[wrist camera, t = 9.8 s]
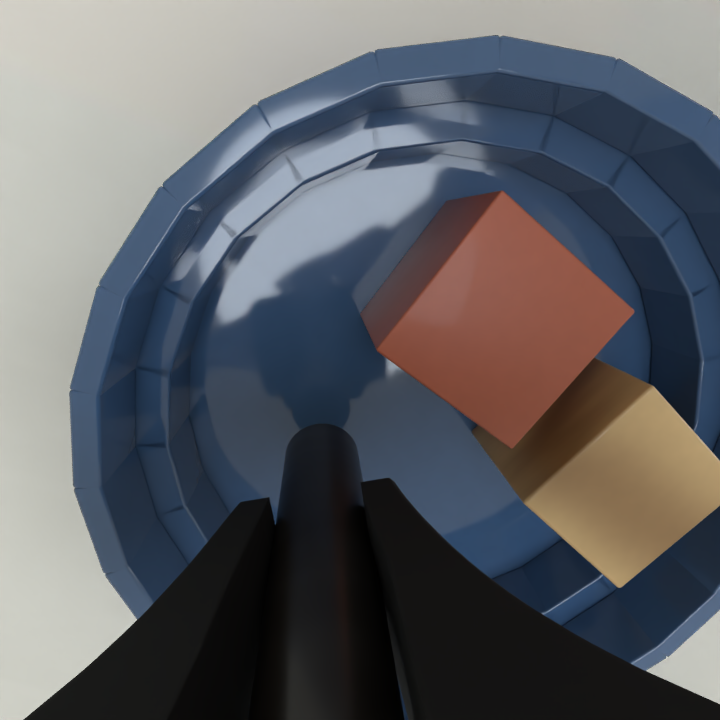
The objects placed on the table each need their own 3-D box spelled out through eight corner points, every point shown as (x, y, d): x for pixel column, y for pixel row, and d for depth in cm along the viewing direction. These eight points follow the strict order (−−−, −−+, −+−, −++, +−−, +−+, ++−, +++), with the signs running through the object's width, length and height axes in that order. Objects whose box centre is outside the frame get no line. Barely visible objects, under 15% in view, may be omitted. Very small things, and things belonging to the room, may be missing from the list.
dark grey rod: (313, 409, 12) (303, 832, 4) (372, 447, 13) (483, 902, 4) (271, 464, 13) (172, 967, 4) (329, 499, 13) (351, 1016, 5)
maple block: (563, 341, 14) (654, 384, 10) (637, 420, 15) (744, 487, 11) (470, 431, 15) (522, 503, 11) (546, 501, 16) (620, 590, 12)
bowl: (381, -56, 11) (419, -228, 7) (781, 344, 15) (959, 391, 11) (40, 460, 14) (-79, 560, 10) (451, 681, 18) (492, 819, 14)
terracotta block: (447, 199, 13) (502, 188, 9) (547, 287, 14) (637, 311, 10) (359, 314, 13) (375, 350, 10) (460, 390, 14) (512, 450, 11)
